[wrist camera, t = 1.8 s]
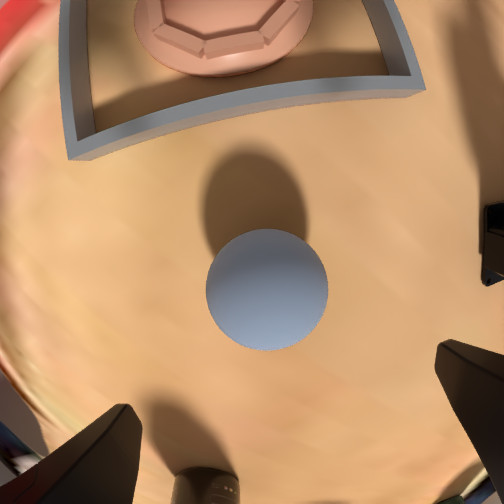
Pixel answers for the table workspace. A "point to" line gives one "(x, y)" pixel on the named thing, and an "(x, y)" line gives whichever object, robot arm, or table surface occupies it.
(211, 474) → the supplement bottle
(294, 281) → the ball
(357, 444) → the table surface
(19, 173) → the table surface
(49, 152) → the table surface
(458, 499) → the coffee jar
